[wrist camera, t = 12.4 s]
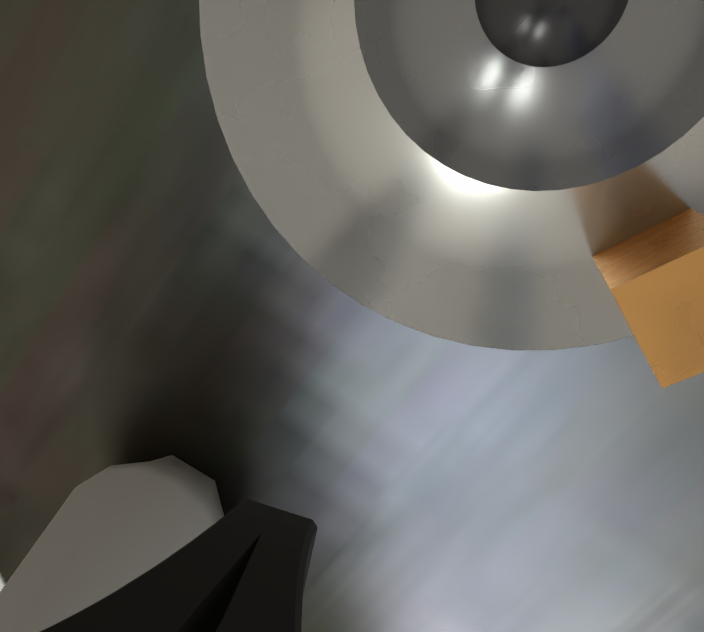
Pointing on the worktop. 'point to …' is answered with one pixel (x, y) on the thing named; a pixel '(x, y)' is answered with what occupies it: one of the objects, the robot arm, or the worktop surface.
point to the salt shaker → (108, 539)
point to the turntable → (450, 205)
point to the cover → (537, 83)
